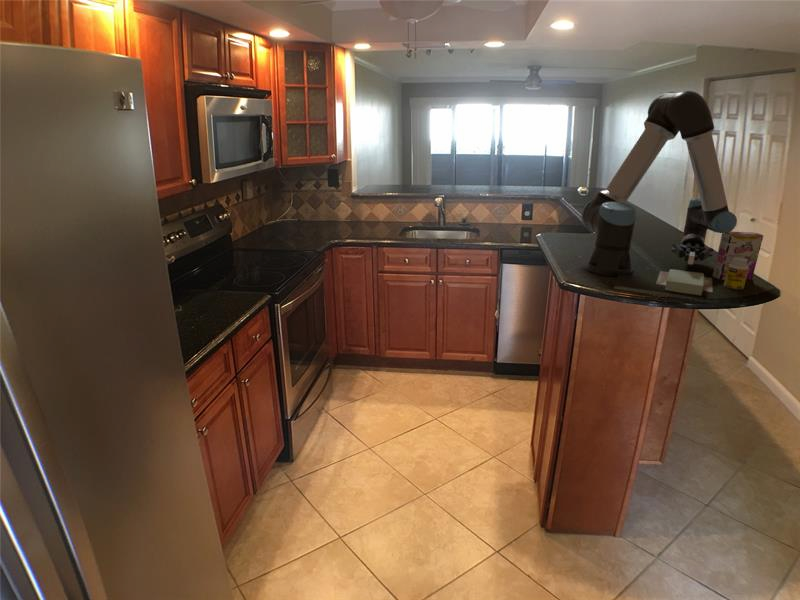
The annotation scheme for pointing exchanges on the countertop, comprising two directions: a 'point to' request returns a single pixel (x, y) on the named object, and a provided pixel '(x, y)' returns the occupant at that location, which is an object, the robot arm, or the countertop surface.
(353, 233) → the countertop surface
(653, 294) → the countertop surface
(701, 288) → the pale green rectangular block
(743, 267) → the supplement bottle
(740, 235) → the candy bar box
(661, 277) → the board
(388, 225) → the countertop surface
